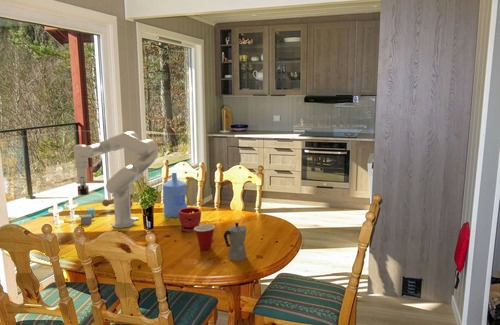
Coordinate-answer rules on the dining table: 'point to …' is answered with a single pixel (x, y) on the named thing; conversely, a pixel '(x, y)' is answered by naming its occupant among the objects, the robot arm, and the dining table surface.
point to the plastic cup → (204, 236)
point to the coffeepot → (236, 242)
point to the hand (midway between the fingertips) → (83, 193)
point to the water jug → (174, 196)
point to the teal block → (91, 211)
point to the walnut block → (86, 190)
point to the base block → (86, 219)
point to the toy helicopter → (112, 202)
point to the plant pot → (189, 219)
